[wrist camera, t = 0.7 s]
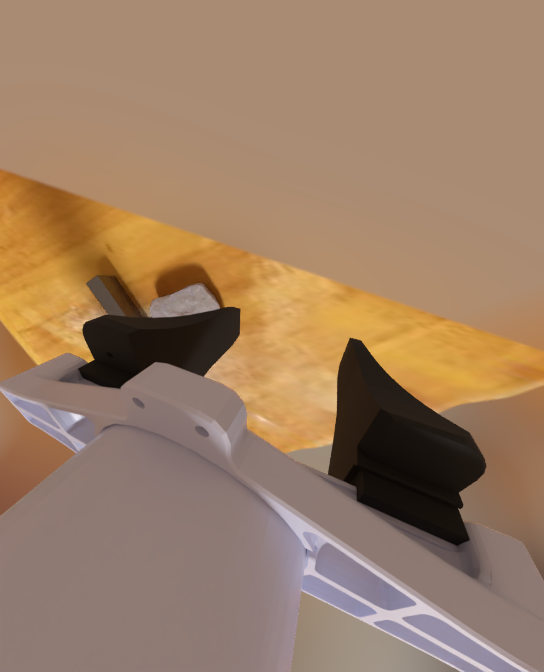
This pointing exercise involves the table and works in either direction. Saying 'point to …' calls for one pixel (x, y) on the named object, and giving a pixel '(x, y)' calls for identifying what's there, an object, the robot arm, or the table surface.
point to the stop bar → (112, 296)
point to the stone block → (184, 302)
